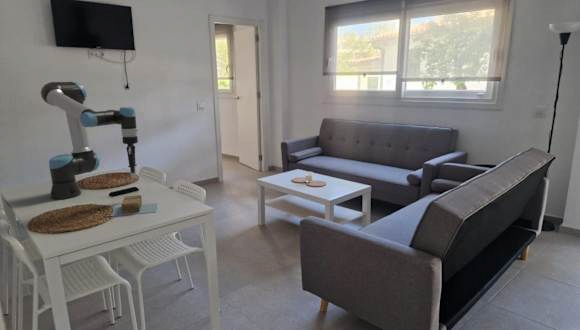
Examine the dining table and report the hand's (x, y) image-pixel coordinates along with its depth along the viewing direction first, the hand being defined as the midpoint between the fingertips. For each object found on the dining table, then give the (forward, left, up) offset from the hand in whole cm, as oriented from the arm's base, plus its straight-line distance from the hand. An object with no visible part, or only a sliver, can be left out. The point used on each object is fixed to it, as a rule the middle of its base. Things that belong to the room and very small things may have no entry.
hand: (133, 177), depth 202 cm
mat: (+20, 0, -12) cm, 23 cm away
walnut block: (+12, 0, -9) cm, 15 cm away
